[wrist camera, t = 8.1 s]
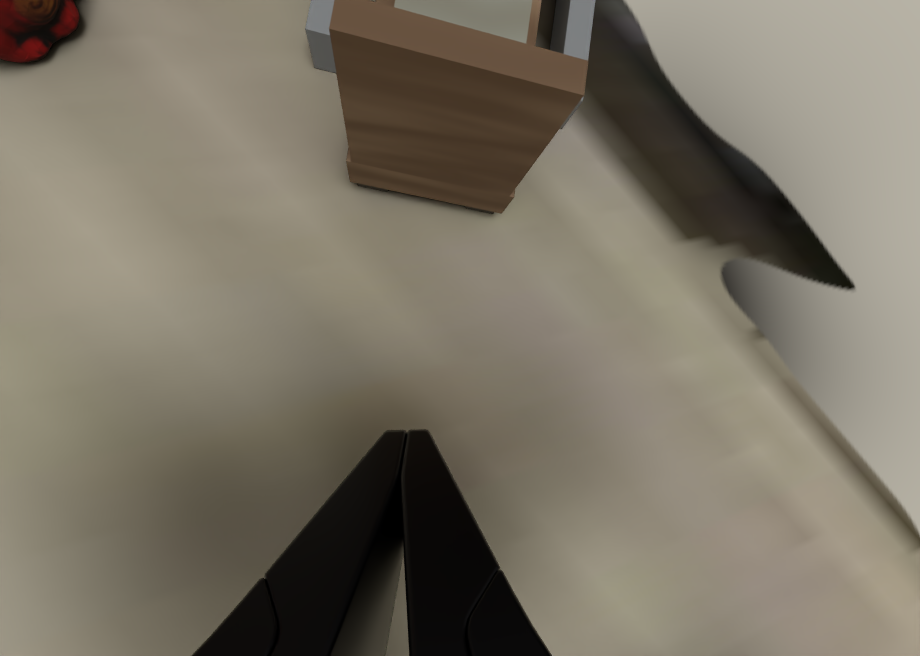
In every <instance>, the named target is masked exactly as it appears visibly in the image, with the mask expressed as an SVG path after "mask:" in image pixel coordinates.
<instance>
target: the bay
mask: <svg viewBox="0 0 920 656" xmlns="http://www.w3.org/2000/svg"><path fill="white" fill-rule="evenodd" d="M333 5H334V0H311V3H310V8H309V13H308V18H307V23H306V28H305V30H306V34H307V38H308V42H309V46H310V51H311V55H312V59H313V63H314V68H318V69H322V70H326V71H330V72H334V73H336V68H335V62H334V56H333V50H332V44H331V38H330V32H329V26H330V21H331V16H332V11H333ZM594 6H595V0H556V7H555V15H554V22H553V30H552V37H551V44H550V50H551V51H555V52H559V53H562V54H566V55H569V56H573V57H577V58H580V59H584V60H588V55H589V47H590V38H591V30H592V22H593V14H594ZM582 101H583V97H582V99H581V100H580V102H579V103H578V104H577V106H576V107H575V108H574V110H573V111H572V112H571V114H570V115H569V116H568V118H567V119H566V120H565V122H564V123H563V125H562V126H561V127H560V129H562V128H563V127H564V125H565V124H566V123H567V121H568V120H569V119H570V117H571V116H572V115H573V113H574V112H575V111H576V109H577V108H578V107H579V105H580V104H581V103H582Z"/></svg>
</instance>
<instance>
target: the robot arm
mask: <svg viewBox="0 0 920 656" xmlns="http://www.w3.org/2000/svg"><path fill="white" fill-rule="evenodd" d="M403 553H404V566H405V584H406V602H407V620H408V638H409V656H552V655H551V653H550V652H549V650H548V649H547V647H546V645H545V644H544V642H543V641H542V639H541V638H540V636H539V635H538V633H537V631H536V630H535V628H534V627H533V625H532V623H531V622H530V620H529V618H528V616H527V615H526V613H525V611H524V609H523V607H522V606H521V604H520V602H519V600H518V599H517V597H516V595H515V593H514V592H513V590H512V588H511V586H510V584H509V582H508V580H507V578H506V576H505V574H504V573H503V571H502V570H500V566H499V564H498V562H497V560H496V558H495V556H494V555H493V553H492V551H491V549H490V547H489V545H488V543H487V541H486V539H485V537H484V535H483V533H482V532H481V530H480V528H479V526H478V524H477V522H476V520H475V518H474V516H473V514H472V512H471V510H470V509H469V507H468V505H467V503H466V501H465V499H464V497H463V495H462V493H461V491H460V489H459V488H458V486H457V484H456V482H455V480H454V478H453V476H452V474H451V472H450V470H449V468H448V466H447V465H446V463H445V461H444V459H443V457H442V455H441V453H440V451H439V449H438V447H437V445H436V444H435V442H434V440H433V438H432V436H431V434H430V432H429V431H428V430H426V429H421V430H409V431H408V432H406V431H405V430H387V431H385V432H384V433H383V435H382V436H381V437H380V438H379V439H378V440H377V442H376V443H375V444H374V445H373V446H372V448H371V449H370V450H369V451H368V452H367V454H366V455H365V456H364V457H363V458H362V459H361V461H360V462H359V463H358V464H357V465H356V467H355V468H354V469H353V470H352V471H351V473H350V474H349V475H348V476H347V477H346V478H345V480H344V481H343V482H342V483H341V484H340V486H339V487H338V488H337V489H336V490H335V492H334V493H333V494H332V495H331V496H330V497H329V499H328V500H327V501H326V502H325V503H324V505H323V506H322V507H321V508H320V509H319V511H318V512H317V513H316V514H315V515H314V516H313V518H312V519H311V520H310V521H309V522H308V524H307V525H306V526H305V527H304V528H303V529H302V531H301V532H300V533H299V534H298V535H297V537H296V538H295V539H294V540H293V541H292V543H291V544H290V545H289V546H288V547H287V548H286V550H285V551H284V552H283V553H282V554H281V556H280V557H279V558H278V559H277V560H276V562H275V563H274V564H273V565H272V566H271V567H270V569H269V570H268V571H267V572H266V573H265V579H264V578H261V579H259V581H258V582H257V583H256V584H255V585H254V587H253V588H252V589H251V590H250V591H249V592H248V594H247V595H246V596H245V597H244V598H243V600H242V601H241V602H240V603H239V604H238V605H237V606H236V608H235V609H234V610H233V611H232V612H231V613H230V614H229V615H228V617H227V618H226V619H225V620H224V621H223V622H222V623H221V625H220V626H219V627H218V628H217V629H216V630H215V631H214V632H213V634H212V635H211V636H210V637H209V638H208V639H207V640H206V641H205V642H204V643H203V644H202V645H201V646H200V647H199V648H198V649H197V651H196V652H195V653H194V654H193V655H192V656H385V654H386V648H387V642H388V637H389V631H390V626H391V620H392V614H393V609H394V603H395V598H396V592H397V587H398V581H399V575H400V570H401V564H402V559H403Z"/></svg>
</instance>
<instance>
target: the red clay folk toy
mask: <svg viewBox="0 0 920 656" xmlns="http://www.w3.org/2000/svg"><path fill="white" fill-rule="evenodd" d="M79 18H80V17H79V12H78V9H77V7H76V6H75V4H74V1H73V0H0V59H2V60H6V61H12V62H19V63H27V62H32V61H36V60H41V59H43V58H44V57H45V56H46V55H47V54H48V52H49V50H50V47H51V46H52V44H53V43H54V42H56V41H58V40H59V39H61V38H65V37H66V36H68V35H69V34H70V33H72V32H73V31H75V30H76V29H77V27H78V22H79Z"/></svg>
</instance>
